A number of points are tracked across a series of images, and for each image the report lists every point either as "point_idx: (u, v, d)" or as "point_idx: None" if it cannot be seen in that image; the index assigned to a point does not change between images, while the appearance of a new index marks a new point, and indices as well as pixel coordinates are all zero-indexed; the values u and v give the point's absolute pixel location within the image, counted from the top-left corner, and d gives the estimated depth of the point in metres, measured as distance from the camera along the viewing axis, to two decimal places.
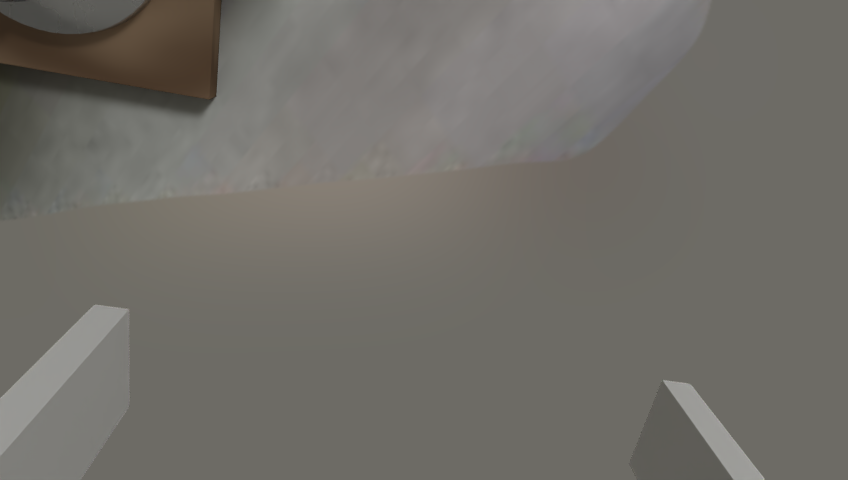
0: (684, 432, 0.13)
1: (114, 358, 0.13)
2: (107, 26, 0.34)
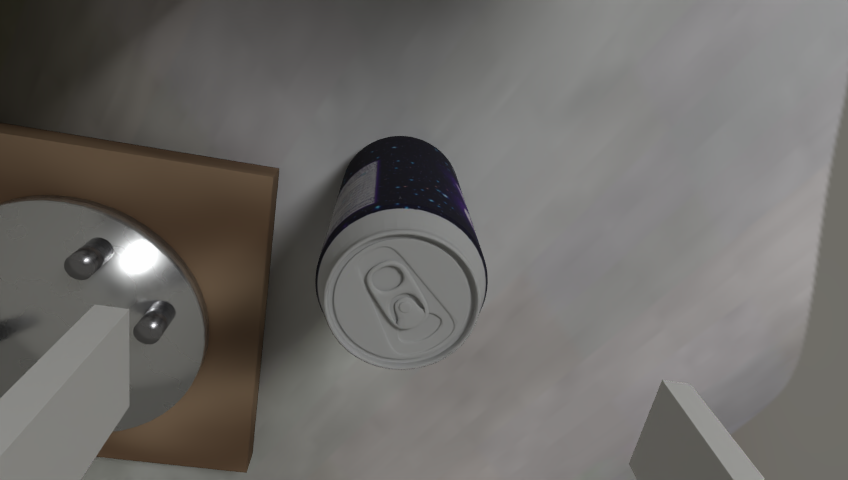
0: (684, 432, 0.13)
1: (114, 358, 0.13)
2: (136, 425, 0.31)
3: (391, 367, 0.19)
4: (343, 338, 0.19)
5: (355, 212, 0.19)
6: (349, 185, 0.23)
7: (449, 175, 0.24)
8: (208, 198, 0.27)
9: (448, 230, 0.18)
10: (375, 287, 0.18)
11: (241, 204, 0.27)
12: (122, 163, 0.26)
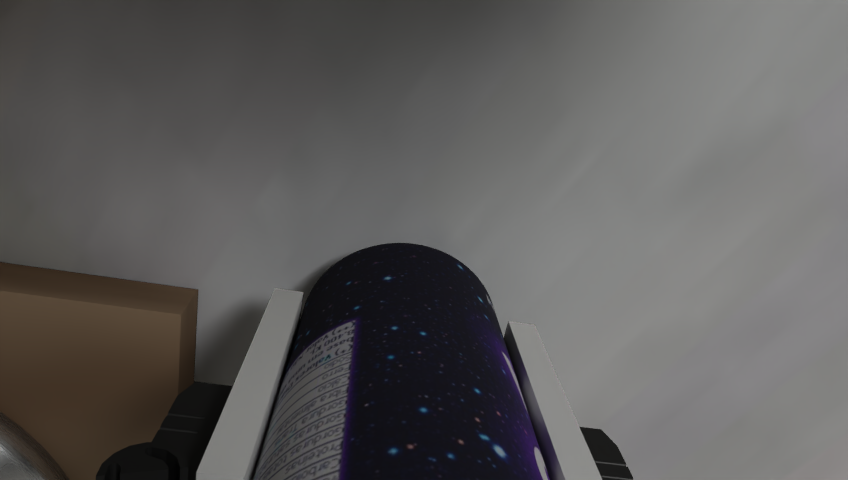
0: (515, 363, 0.15)
1: (295, 333, 0.15)
2: None
3: None
4: None
5: None
6: (297, 382, 0.11)
7: (490, 339, 0.13)
8: (72, 348, 0.16)
9: None
10: None
11: (129, 357, 0.16)
12: None
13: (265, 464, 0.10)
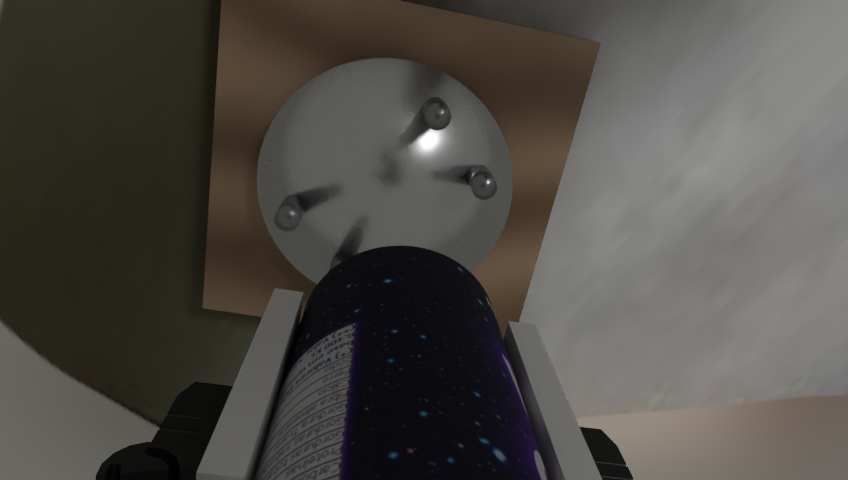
0: (515, 363, 0.15)
1: (295, 333, 0.15)
2: None
3: None
4: None
5: None
6: (297, 385, 0.11)
7: (490, 342, 0.13)
8: (535, 63, 0.28)
9: None
10: None
11: (564, 70, 0.29)
12: (463, 25, 0.28)
13: (266, 468, 0.10)
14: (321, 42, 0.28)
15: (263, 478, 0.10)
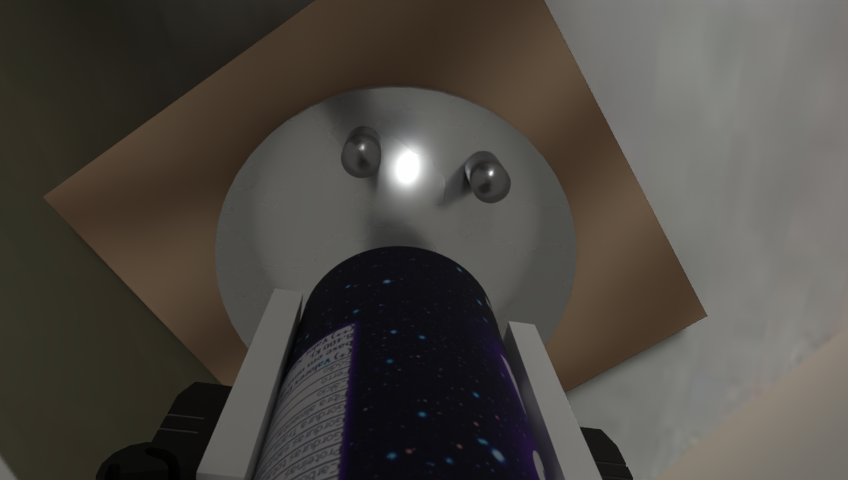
0: (515, 363, 0.15)
1: (295, 333, 0.15)
2: (549, 338, 0.22)
3: None
4: None
5: None
6: (297, 386, 0.11)
7: (489, 342, 0.13)
8: None
9: None
10: None
11: None
12: (310, 25, 0.19)
13: (265, 468, 0.10)
14: (195, 183, 0.20)
15: (262, 478, 0.10)
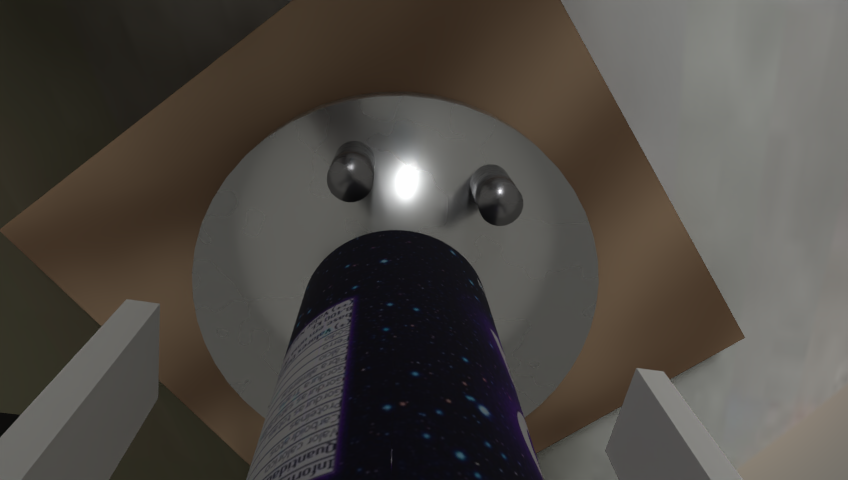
0: (656, 417, 0.14)
1: (146, 351, 0.13)
2: (569, 368, 0.20)
3: None
4: None
5: None
6: (300, 353, 0.12)
7: (480, 317, 0.14)
8: None
9: None
10: None
11: None
12: (289, 28, 0.16)
13: (271, 424, 0.11)
14: (169, 209, 0.18)
15: (268, 433, 0.10)
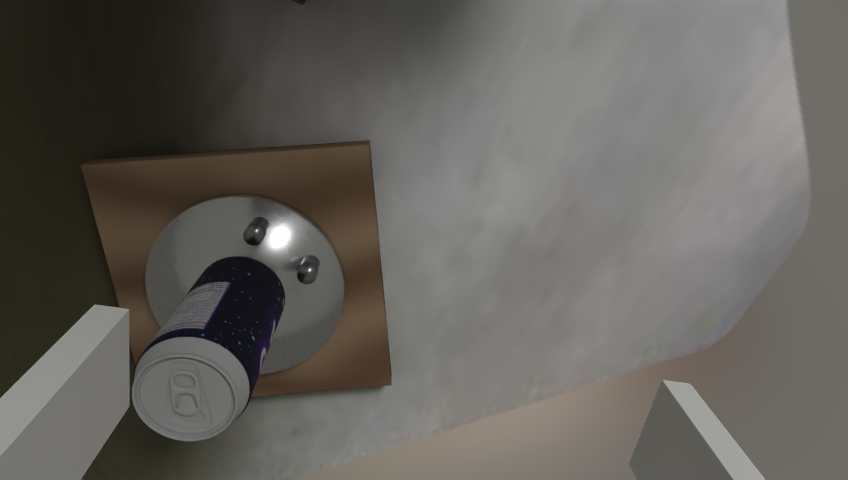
0: (684, 432, 0.13)
1: (114, 358, 0.13)
2: (305, 359, 0.41)
3: (157, 431, 0.28)
4: (137, 401, 0.28)
5: (188, 329, 0.28)
6: (201, 292, 0.32)
7: (272, 313, 0.34)
8: (326, 171, 0.37)
9: (236, 370, 0.28)
10: (173, 382, 0.27)
11: (350, 171, 0.37)
12: (262, 160, 0.37)
13: (183, 310, 0.30)
14: (165, 198, 0.37)
15: (181, 312, 0.30)
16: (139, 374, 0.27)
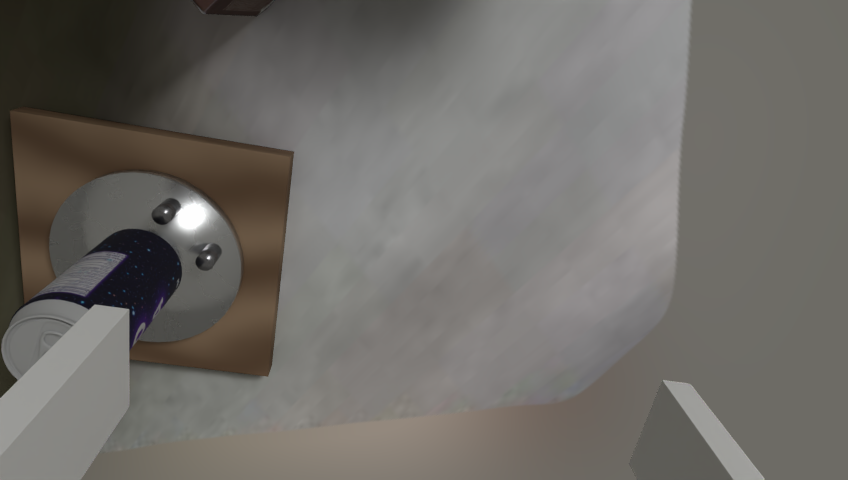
0: (684, 432, 0.13)
1: (114, 358, 0.13)
2: (190, 336, 0.43)
3: None
4: (5, 349, 0.30)
5: (70, 293, 0.30)
6: (96, 259, 0.34)
7: (162, 291, 0.37)
8: (245, 171, 0.40)
9: None
10: (43, 340, 0.29)
11: (268, 176, 0.40)
12: (188, 147, 0.39)
13: (72, 273, 0.32)
14: (87, 160, 0.39)
15: (70, 275, 0.32)
16: (12, 326, 0.29)
